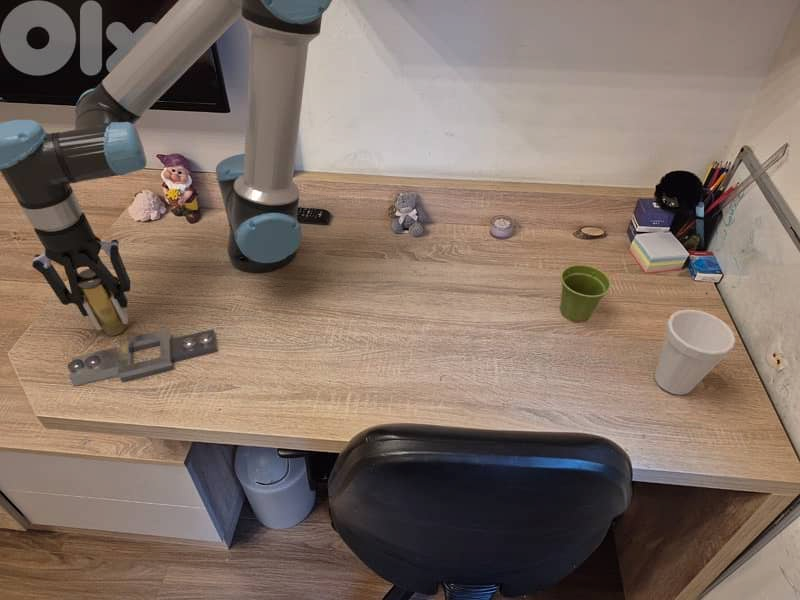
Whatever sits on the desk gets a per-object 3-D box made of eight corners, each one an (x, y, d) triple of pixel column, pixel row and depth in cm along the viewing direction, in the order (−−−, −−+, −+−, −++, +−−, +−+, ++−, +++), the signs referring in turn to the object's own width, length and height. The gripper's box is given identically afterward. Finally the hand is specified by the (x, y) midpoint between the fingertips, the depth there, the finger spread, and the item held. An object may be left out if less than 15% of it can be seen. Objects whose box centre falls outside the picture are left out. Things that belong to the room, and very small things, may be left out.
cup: (713, 382, 92) (746, 331, 84) (687, 415, 87) (720, 363, 78) (659, 352, 98) (685, 300, 89) (632, 380, 93) (657, 329, 84)
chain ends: (214, 326, 102) (210, 316, 100) (218, 358, 96) (215, 348, 94) (76, 358, 96) (69, 348, 94) (71, 394, 90) (65, 384, 88)
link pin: (128, 317, 103) (103, 265, 95) (128, 332, 100) (102, 281, 91) (103, 322, 102) (75, 271, 93) (102, 339, 99) (73, 287, 90)
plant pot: (607, 310, 106) (619, 277, 100) (587, 336, 101) (599, 303, 95) (564, 290, 110) (574, 258, 105) (543, 314, 105) (552, 281, 99)
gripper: (116, 197, 89) (159, 299, 105) (3, 217, 85) (66, 319, 101) (114, 221, 84) (160, 324, 100) (-6, 243, 80) (61, 347, 95)
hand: (112, 321), depth 100 cm, fingers closed on link pin, 4 cm apart
